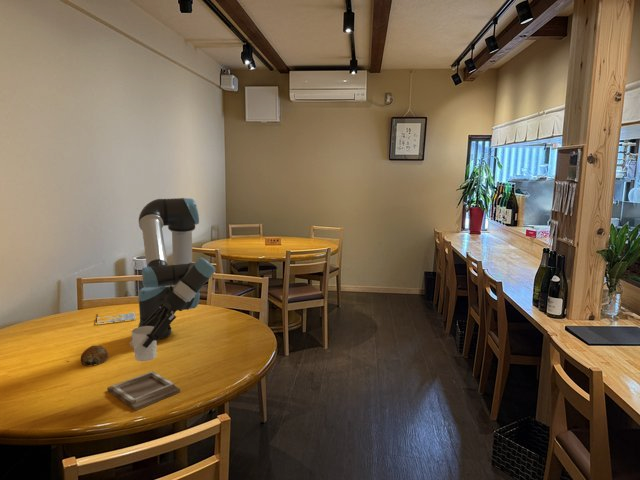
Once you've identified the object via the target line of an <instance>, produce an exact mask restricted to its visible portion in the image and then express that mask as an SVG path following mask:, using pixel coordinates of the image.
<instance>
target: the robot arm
mask: <svg viewBox="0 0 640 480" xmlns="http://www.w3.org/2000/svg"><path fill="white" fill-rule="evenodd" d="M199 216H200V215H199V210H198V207H197V202H196V200H194V199H193V198H186V197H179V198H178V197H177V198H157V199H154V200H151V201H150V202H148V203H147V204H146V205H145V206H143V208H142V210H141V211H140V213H139V216H138V226H139V228H140V230H141V231H142V239H143V240H142V241H143V247H144V256H145V264H146V266H144V267H142V269H141V277H142V279H141V280H142V286H143V287H142V288H140V289H139V291H138V299H137V300H138V306H139V307H138V308H139V309H138V310H139V323H138V327H142V326H154V328H153V330H152V331H151V333H150V334H147V336H146V337H145V339H144V340H143V341H142V342H141V343H140V344H139V346H138V347H137V348H136V349H135V350H134V349H133V353H134V355H135V354H137V355H139V356H141V355H142V354H143V353H144V352H145V350H146V349H147V348H148V347H149V346H150V344H151V343H152V342H153V341H155V340H156V341H157V342H158V341H159V340H162V339H166V338H167V337H169V336H171V335H172V327H171V324H172V323H173V321H174V320H175V319H176V318H177V316H176V315H175V314H176V312H177V311H179V312H182V311H185V310H186V311H187V310H188V311H189V310H192V309H195V308H197V307H198V305H199V302H200V297H201V296H200V295H201V294H200V293H201V292H200V290H201V289H202V288H203V287H204V286H205V284H206V283H207V282H208V281H209V280H210V278H212V276H213V275H214V273H216V267H215V266H214V265H213V264H211V263H210V262H209V261H208V260H207V259H205V258H204V257H199V258H198V259H197V260H196V261H194V262H193V231H194V230H196V225H199V224H200V217H199ZM165 226H167V228H168V230H169V231H170V232H171V241H172V245H171V246H172V264H168V257H167V251H166V246H165V240H164V233H163V227H165ZM138 327H137V328H138ZM128 344H129V345H130V346H132V347H133V340H132V339H131V341H129V343H128Z"/></svg>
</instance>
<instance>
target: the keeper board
mask: <svg viewBox="0 0 640 480" xmlns="http://www.w3.org/2000/svg"><path fill="white" fill-rule="evenodd" d="M106 389H107V392H108V393H110V394H111V393H112V396H114V395H115V396H114V397H115V398H117V399H118V398H119V399H118V400H120V401H121V400H122V401H123V402H122V401H121V402H122V403H124V404H125V403H126V404H125V405H127V406H128V407H129V406H130V407H129V408H131V409H133V410H134V411H138V410H141V409H143V407H144V408H146V407H148V406H150V405H153V404H155V403H158V402H159V401H162V400H164V399H167V398H170V397H172V396H174V395H176V394H179V393H180V392H181V388H179V387H177V386H176V384H175V383H174V382H172V381H171V380H169V379H167V378H165V377H164V376H162V375H160V374H158V373H157V372H154V371H153V370H152V371H148V372H147V373H144V374H141V375H138V376H136V377H135V376H134V377H133V378H130V379H127V380H124V381H121V382H119V383H117V384H114V385H111V386H107V388H106Z"/></svg>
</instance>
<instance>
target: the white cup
mask: <svg viewBox="0 0 640 480" xmlns="http://www.w3.org/2000/svg"><path fill="white" fill-rule="evenodd" d="M153 328H154V326H142V327H136V328H133V329H132V330H131V338H132V339H131V340H133V346H132V347H133V351H134V350H135V349H136V348H137V347H138V346H139V344H140V343H141V342H142V341H143V340H144V339H145V337H146V336H147V334H150V333H151V331H152V330H153ZM157 345H158V341H156V340H155V341H153V342H152V343H151V344H150V346H149V347H148V348H147V349H146V350H145V352H144V353H143V354H142V355H141V356H139V355H137V354H135V353H134V358H135V360H136V361H138V362H148V361H151V360H155V358H157V347H158V346H157Z"/></svg>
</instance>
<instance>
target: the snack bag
mask: <svg viewBox="0 0 640 480" xmlns="http://www.w3.org/2000/svg"><path fill="white" fill-rule="evenodd" d="M117 316H119V317H122V318H117V319H110V320H108V321H103V322H102V321H97V323H104V322H115V321H125V320H134V319H136V312H135V311H134V312H133V313H128V314H122V315H116V316H104V317H117ZM123 317H125V318H123ZM96 318H98V319H99V318H100V317H97V316H96ZM98 319H97V320H98Z"/></svg>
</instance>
